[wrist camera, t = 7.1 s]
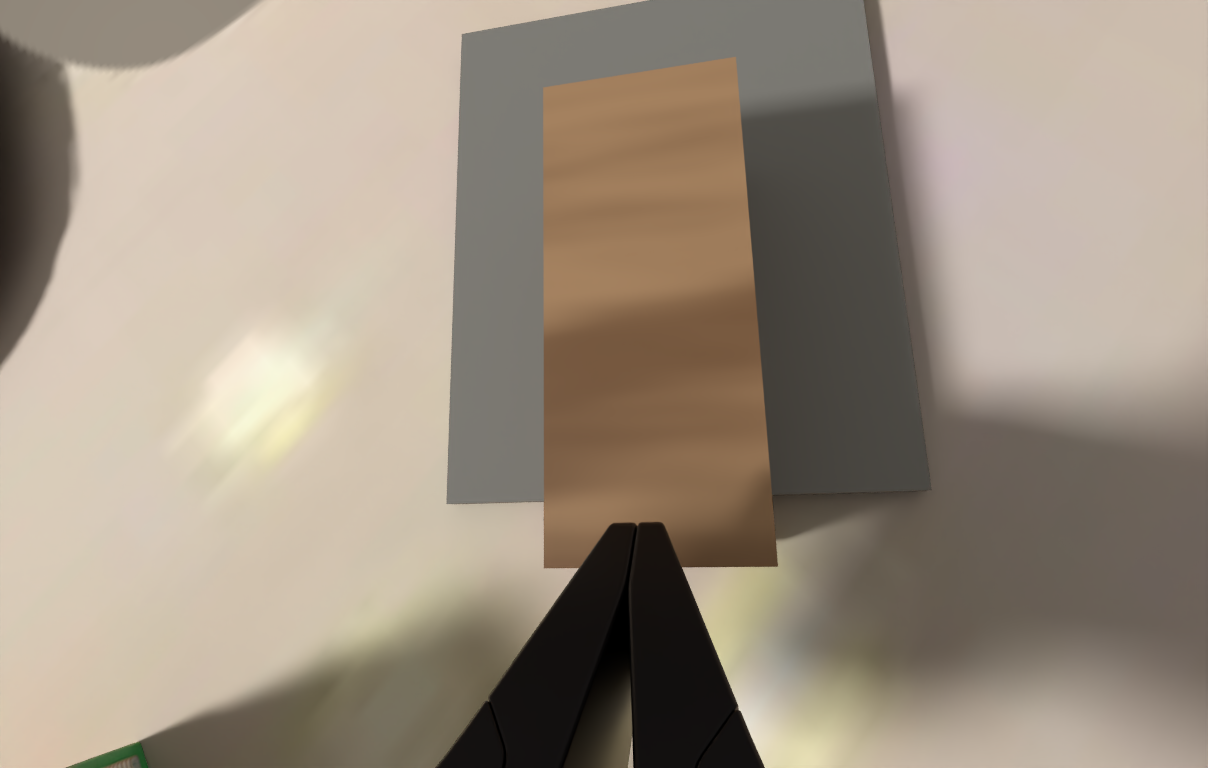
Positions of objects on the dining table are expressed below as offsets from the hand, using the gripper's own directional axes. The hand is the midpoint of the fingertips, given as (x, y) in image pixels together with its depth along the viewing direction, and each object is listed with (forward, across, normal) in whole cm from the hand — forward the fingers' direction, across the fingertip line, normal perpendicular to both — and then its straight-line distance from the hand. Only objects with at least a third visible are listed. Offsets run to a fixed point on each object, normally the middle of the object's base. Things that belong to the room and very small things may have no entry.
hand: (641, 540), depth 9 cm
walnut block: (+3, 0, +4) cm, 4 cm away
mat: (+11, 0, -1) cm, 11 cm away
